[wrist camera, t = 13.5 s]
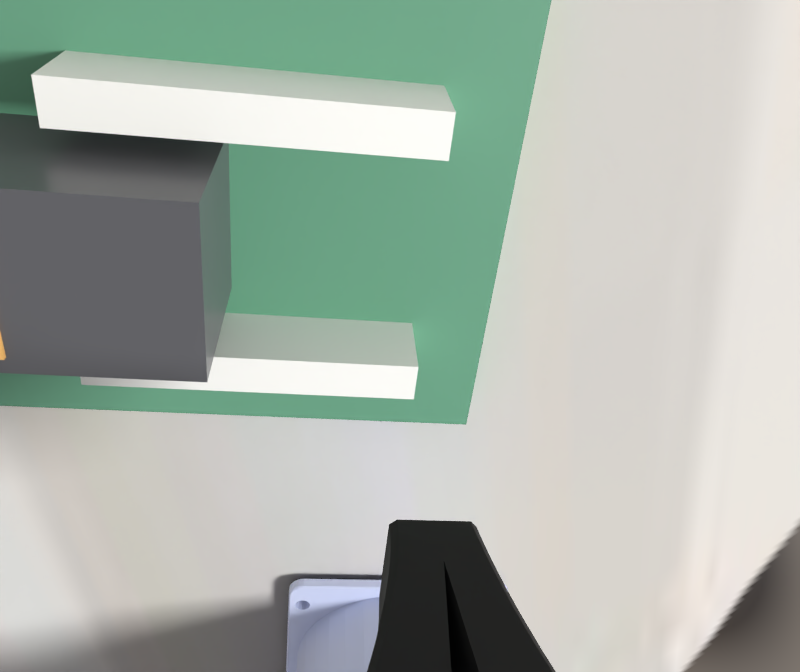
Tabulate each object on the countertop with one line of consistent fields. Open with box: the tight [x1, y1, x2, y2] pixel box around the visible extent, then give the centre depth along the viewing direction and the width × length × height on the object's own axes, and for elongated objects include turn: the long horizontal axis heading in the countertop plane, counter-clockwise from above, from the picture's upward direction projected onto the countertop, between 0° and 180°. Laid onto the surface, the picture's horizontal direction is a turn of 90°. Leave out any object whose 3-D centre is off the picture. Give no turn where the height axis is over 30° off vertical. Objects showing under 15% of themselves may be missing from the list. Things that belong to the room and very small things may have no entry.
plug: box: [0, 113, 232, 382], centre depth 15 cm, size 4×5×4 cm
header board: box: [0, 0, 551, 424], centre depth 16 cm, size 12×14×4 cm
